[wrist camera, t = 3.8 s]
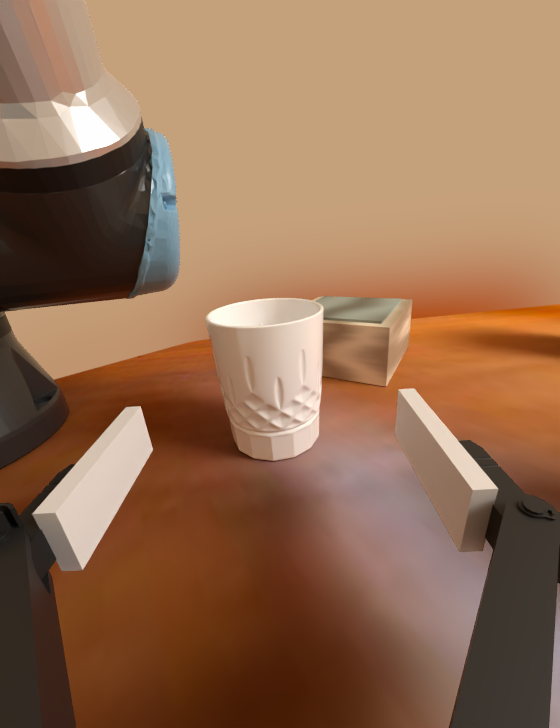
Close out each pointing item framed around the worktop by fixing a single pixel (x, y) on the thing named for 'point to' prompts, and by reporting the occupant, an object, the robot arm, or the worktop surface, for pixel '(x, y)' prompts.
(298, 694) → the worktop surface
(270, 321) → the white cup
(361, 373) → the stand
